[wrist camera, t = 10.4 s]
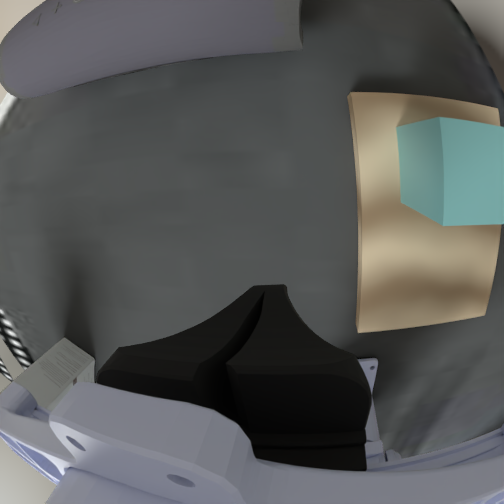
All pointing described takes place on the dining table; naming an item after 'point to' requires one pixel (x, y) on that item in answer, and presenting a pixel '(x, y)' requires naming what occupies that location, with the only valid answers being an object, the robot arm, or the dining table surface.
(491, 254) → the base board
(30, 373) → the skincare box
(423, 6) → the dining table surface
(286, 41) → the bluetooth speaker
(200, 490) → the robot arm
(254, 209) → the dining table surface
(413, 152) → the teal foam brick
